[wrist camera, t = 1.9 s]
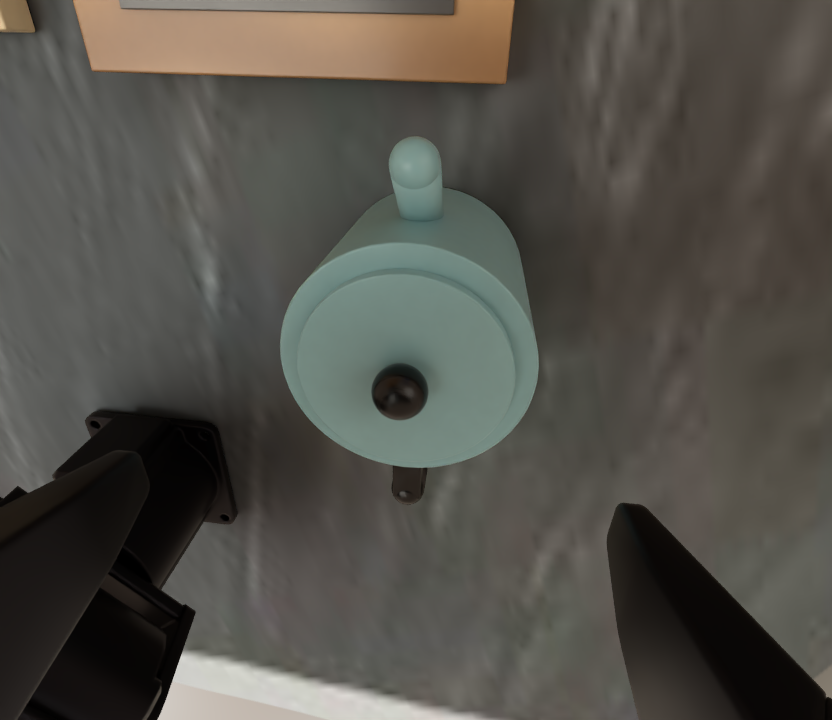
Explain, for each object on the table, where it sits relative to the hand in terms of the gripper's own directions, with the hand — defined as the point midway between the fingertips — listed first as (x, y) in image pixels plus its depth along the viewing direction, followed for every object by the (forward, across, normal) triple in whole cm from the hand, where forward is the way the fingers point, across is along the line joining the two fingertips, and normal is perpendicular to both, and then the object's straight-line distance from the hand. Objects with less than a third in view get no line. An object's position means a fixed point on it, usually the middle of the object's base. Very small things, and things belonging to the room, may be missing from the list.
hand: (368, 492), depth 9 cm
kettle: (+11, 0, 0) cm, 11 cm away
